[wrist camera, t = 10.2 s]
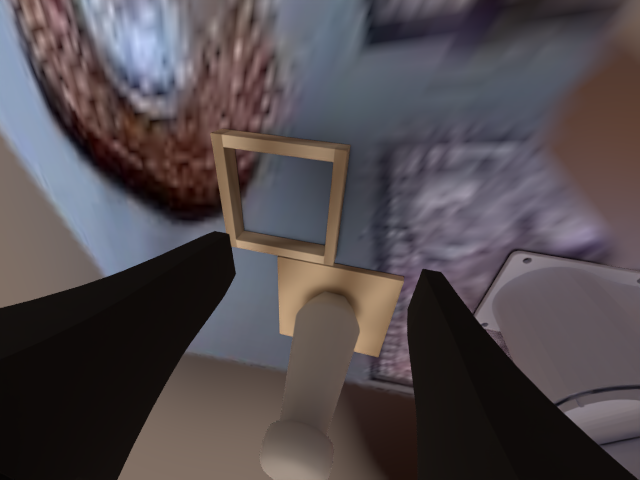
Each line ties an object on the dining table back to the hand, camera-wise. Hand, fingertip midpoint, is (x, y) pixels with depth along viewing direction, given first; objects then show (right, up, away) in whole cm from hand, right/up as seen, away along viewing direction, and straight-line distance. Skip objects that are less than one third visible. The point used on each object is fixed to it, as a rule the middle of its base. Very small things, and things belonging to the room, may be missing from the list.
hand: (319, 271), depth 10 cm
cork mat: (+1, -5, +16) cm, 17 cm away
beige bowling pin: (+1, -5, +15) cm, 16 cm away
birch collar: (-3, +4, +11) cm, 12 cm away
